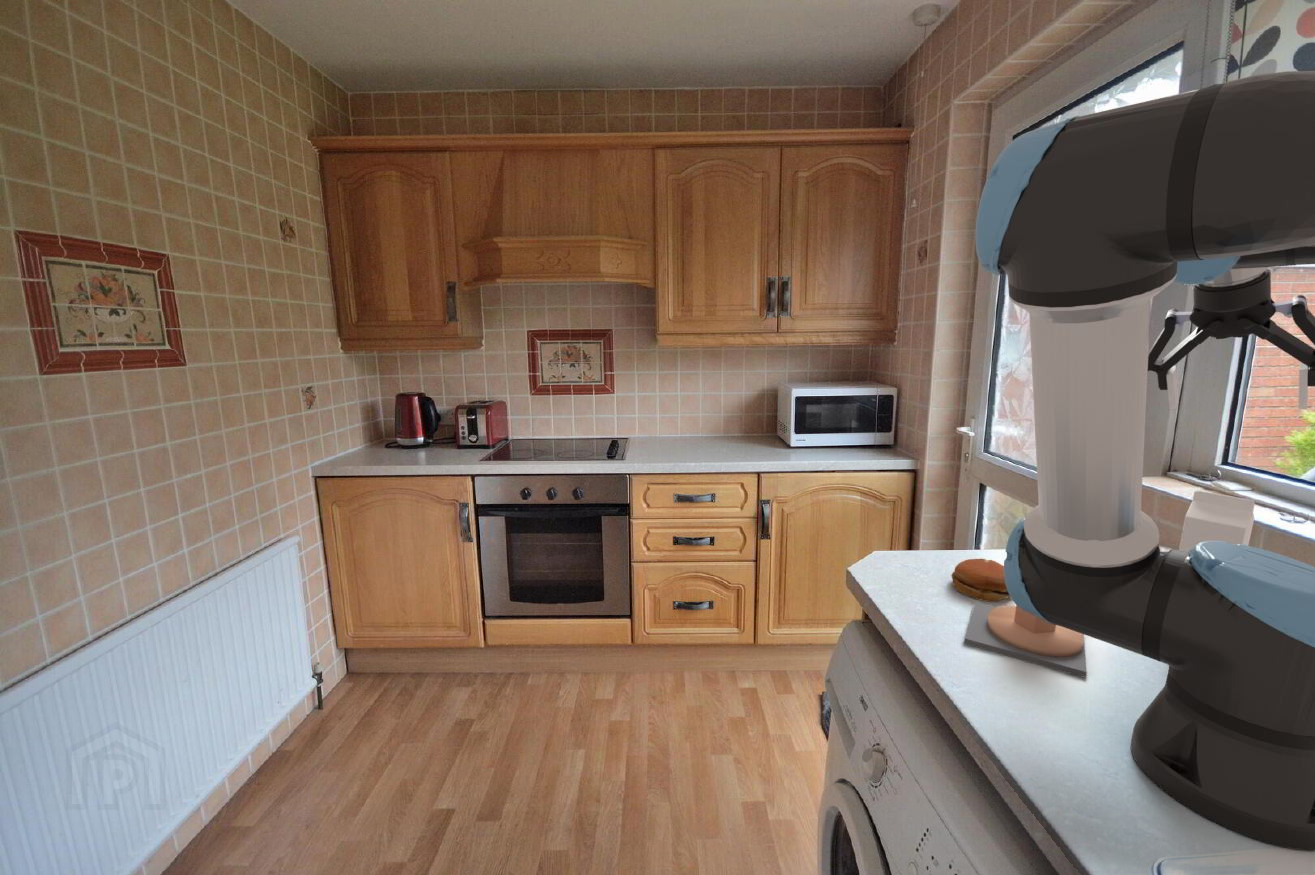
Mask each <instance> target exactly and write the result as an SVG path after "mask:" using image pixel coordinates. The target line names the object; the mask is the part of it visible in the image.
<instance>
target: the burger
mask: <svg viewBox="0 0 1315 875" xmlns="http://www.w3.org/2000/svg"><path fill="white" fill-rule="evenodd" d="M951 579H952V583H953V587H954V589H955V590H956V591H958V592H960V593H961V594H964V595H965V596H966V597H967V596H968V597H969V598H973V599H977V600H980V601H983V602H990V603H994V602H995V603H996V602H1000V601H1003V600H1004V599H1007V598H1009V597H1010V595H1009V593H1008V590H1007V587H1006V583H1005V578H1004V564H1001V563H999V562H997V561H995V560H993V559H986V558H971V559H965V560H962V561H960V562H959V563H958V564H957V565H956V566H955V567H954V571H952V573H951Z"/></svg>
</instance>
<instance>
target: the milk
mask: <svg viewBox="0 0 1315 875" xmlns="http://www.w3.org/2000/svg"><path fill="white" fill-rule="evenodd" d="M1191 501H1192V502H1191V503H1190V505H1189V507H1188V510H1187V512H1186V513H1185V516H1184V521H1183V525H1182V527H1183V528H1182V531H1181V537H1180V542H1179V546H1178V550H1181V551H1185V552H1190V550H1191V549H1192V548H1194V546H1195V545H1196V544H1198V543H1200V542H1205V541H1222V542H1226V543H1230V544H1233V545H1235V544H1242V545H1247V546H1250V545H1249V544H1250V539H1251V535H1252V530H1253V526H1254V522H1255V516H1254V510H1255V505H1256V504H1255V500H1254V499H1248V498H1242V497H1236V496H1232V495H1226V494H1219V493H1216V492H1215V493H1214V492H1209V491H1208V492H1207V491H1202V490H1195V491H1194V492H1193V496H1192V500H1191Z"/></svg>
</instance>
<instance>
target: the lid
mask: <svg viewBox="0 0 1315 875" xmlns="http://www.w3.org/2000/svg"><path fill="white" fill-rule="evenodd" d="M997 607H998V606H997ZM987 625H988V628H989V630H990V631H991V632H992V633H993V634H994V635H995V636H997V637H998V638H999V639H1001V640H1002V641H1004V642H1006V643H1008V644H1010V645H1012V646H1014V647H1017V648H1019V649H1022V650H1025V651H1028V652H1031V653H1035V654H1040V655H1045V656H1053V657H1069V656H1074V655H1077V654H1079V653H1080V652H1081V651H1082V649H1083V644H1085V635H1084V636H1083V634H1081V633H1079V632H1076V631H1073V630H1070V629H1067V628H1065V627H1062V626H1058V625H1053V624H1050V623H1048V622H1046V621H1045V620H1043V619H1042V618H1039V617H1037V616H1035V615H1032V614H1030V613H1028V612H1026V611H1024V610H1022V609H1021V608H1019V607H1018V606H1017V605H1016V604H1015V605H1014V606H1013V605H1012V606H1010V605H1004V606H999V607H998V608H995V609H993V610H991V611H990V612H989V614H988V620H987Z"/></svg>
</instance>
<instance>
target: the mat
mask: <svg viewBox="0 0 1315 875" xmlns="http://www.w3.org/2000/svg"><path fill="white" fill-rule="evenodd" d="M995 608H998V606H994V605H989V604H986V603H983V602H982V603H981V602H978V601H974V606H973V609H972V613H971V616H970V619H969V623H968V626H967V629H966V632H965V637H964V640H963V644H965V645H969V646H972V647H976V648H979V649H982V650H986V651H990V652H993V653H997V654H1000V655H1003V656H1008V657H1011V658H1015V659H1018V660H1021V661H1026V662H1029V663H1032V664H1036V665H1039V666H1043V667H1046V668H1049V669H1054V670H1057V671H1061V672H1064V673H1068V674H1072V675H1074V676H1078V677H1082V678H1085V679H1086V678H1087V674H1088V672H1087V659H1086V658H1087V657H1086V646H1085V643H1084V644H1083V649H1082V651H1081V652H1080V653H1079V654H1077V655H1074V656H1069V657H1053V656H1045V655H1040V654H1035V653H1031V652H1028V651H1025V650H1022V649H1019V648H1017V647H1014V646H1012V645H1010V644H1008V643H1006V642H1004V641H1002V640H1001V639H999V638H998V637H997V636H995V635H994V634H993V633H992V632H991V631H990V630H989V628H988V625H987V620H988V614H989V612H990V611H991V610H993V609H995ZM1083 636H1084V637H1085V635H1084V634H1083Z"/></svg>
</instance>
